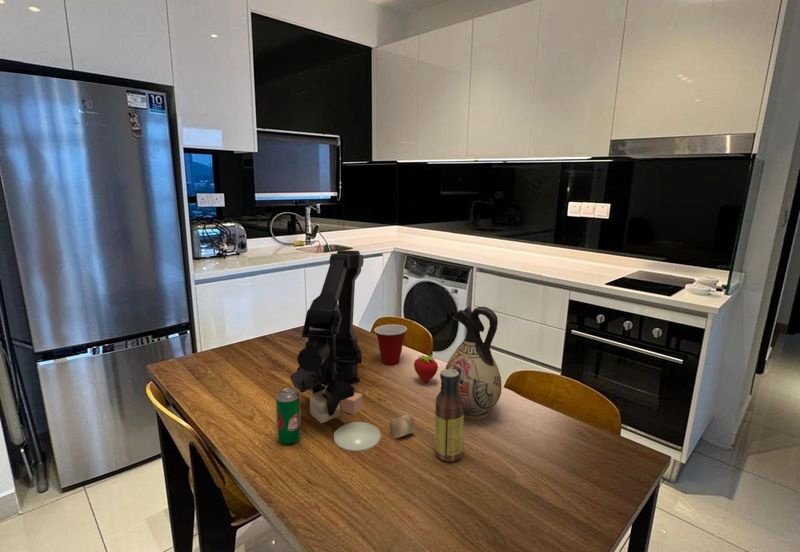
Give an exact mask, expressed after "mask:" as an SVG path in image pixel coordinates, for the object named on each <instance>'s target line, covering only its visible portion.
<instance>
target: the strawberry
mask: <svg viewBox="0 0 800 552" xmlns="http://www.w3.org/2000/svg"><path fill="white" fill-rule="evenodd" d="M427 353H429V350H428V352H427ZM417 357H418V358H417V359H415V360H414V362H413V368H414V371H415V373H416V374H417V376H418V377H419V379H420V380H421V381H422V382H423V383H424V384H427V383H429V381H430V380H432V379H433V378H434V376H436V374H437V372H438V369H439V366H438V363H437V361H436V360H435V358H434V357H433V354H430V355H427V356H426V355H424V354H421V355H420V356H419V355H417Z"/></svg>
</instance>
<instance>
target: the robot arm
mask: <svg viewBox="0 0 800 552" xmlns="http://www.w3.org/2000/svg"><path fill="white" fill-rule="evenodd" d="M364 259H365V258H364V255H363V254H361V252H360V251H359V250H347V249H346V250H345V249H339V250H337V251H336V253H335V252H334V253H330V256H329V267H328V269H327V272H326V276H325V279H324V282H323V285H322V288H321V291H320V294H319V295H318V296H317V297H316V298H314V299H313V300H312V301H311V303H310V304H311V305H310V306H309V309H307V311H306V314H305V320H304V325H303V329H302V334H301V336H302V338H308V339H307V341H306V342H305V346H304V347H303V348H302V349H301V350H300V351H299V353H298V355H297V357H296V358H297V359H296V360H297V364H298V367H297V369H296V371H295V372H293V373H292V374H291V375H290V376H289V378H290V381H291V382H292V385H293V387H294V388H295V390H297V391H299V393H305V392H307V391H311V392H312V393H311V394H313V393H316V392H319V391H322V390H325V394H323V395H322V396H323V397H324V398H325V399H326V400H327V408H328V414H329V416H332V415H333V414H334V412H335V410H336V408H337V406H338V405H339V403H340V404H341V400H344V399H347V398H349V397H352V396H354V392H355V386H353V385H352V384H354V383H357V382H360V381H361V378H360V377H359V376H358V365H359V364H361V363H362V358H363V357H362V350H361V348H360V346H359V345H358V336H356V333H355V331H354V329H353V327H354V326H353V325H354V309H355V307H354V306H355V291H356V289H355V287H356V280H358V277H359V276H360V274H361V273H362V268H363V266H364ZM310 328H311V329H310Z"/></svg>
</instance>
